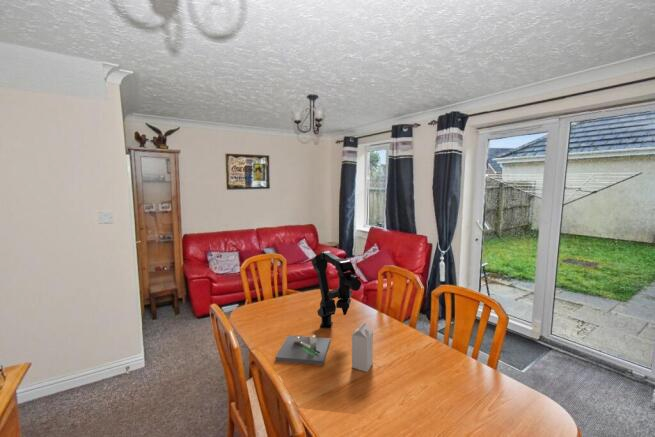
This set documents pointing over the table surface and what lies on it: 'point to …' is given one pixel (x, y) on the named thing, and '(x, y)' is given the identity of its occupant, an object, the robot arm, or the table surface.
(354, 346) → the milk carton
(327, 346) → the board
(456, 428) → the table surface
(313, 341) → the lever
